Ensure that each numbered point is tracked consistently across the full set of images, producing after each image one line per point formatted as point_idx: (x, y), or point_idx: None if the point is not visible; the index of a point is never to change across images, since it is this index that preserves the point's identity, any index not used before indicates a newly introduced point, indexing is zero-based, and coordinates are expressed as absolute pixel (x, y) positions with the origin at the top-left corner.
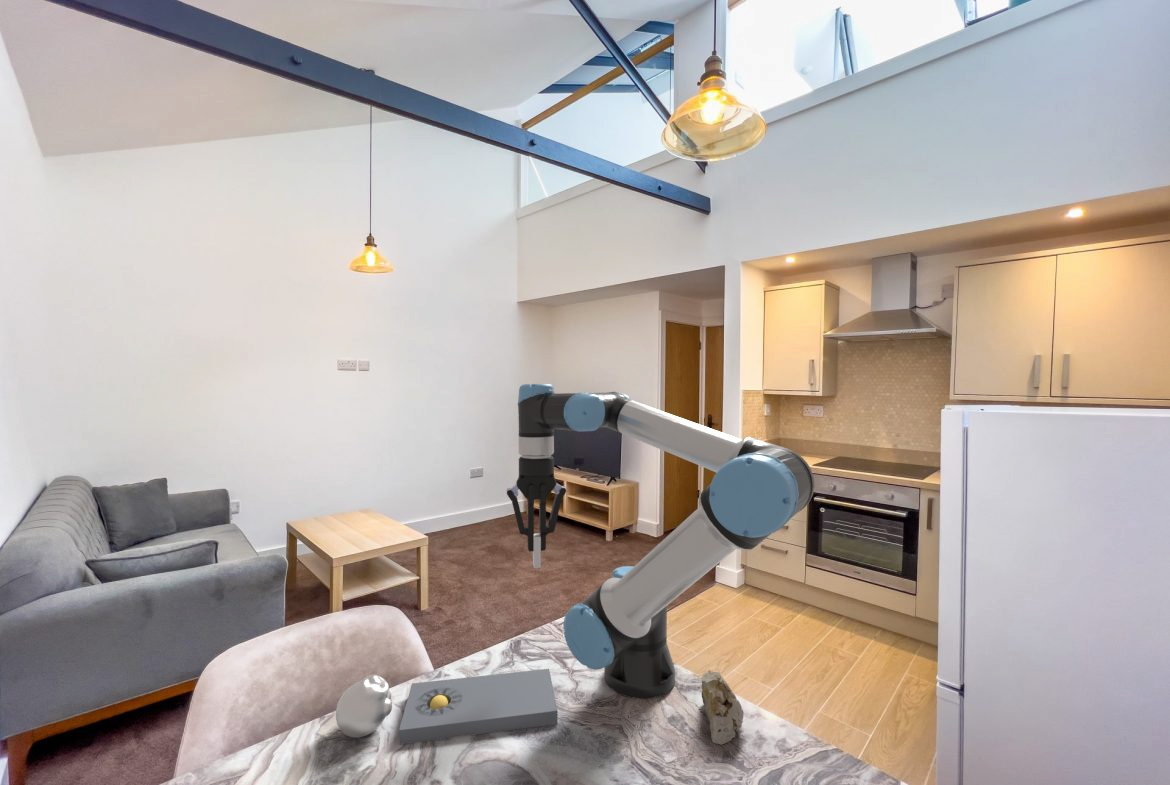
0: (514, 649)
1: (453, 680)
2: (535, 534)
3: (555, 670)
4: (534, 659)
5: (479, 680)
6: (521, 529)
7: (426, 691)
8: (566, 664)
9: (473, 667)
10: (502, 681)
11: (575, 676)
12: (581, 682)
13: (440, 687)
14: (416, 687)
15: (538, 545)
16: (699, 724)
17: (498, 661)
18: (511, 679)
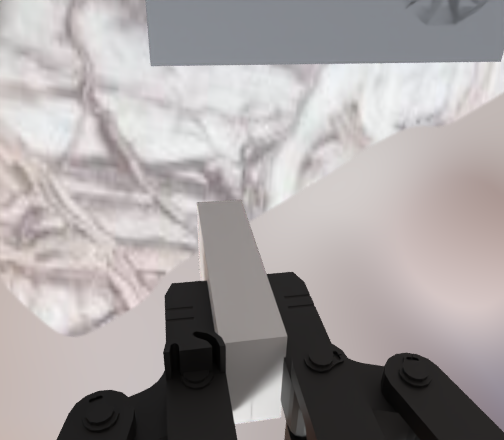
0: None
1: (407, 55)
2: (260, 402)
3: (131, 104)
4: (187, 163)
5: (345, 41)
6: (434, 393)
7: (474, 16)
8: (99, 128)
9: (339, 149)
10: (286, 24)
11: (72, 65)
12: (54, 30)
13: (441, 28)
14: (493, 40)
15: (231, 290)
16: None
17: (278, 166)
18: (261, 30)
